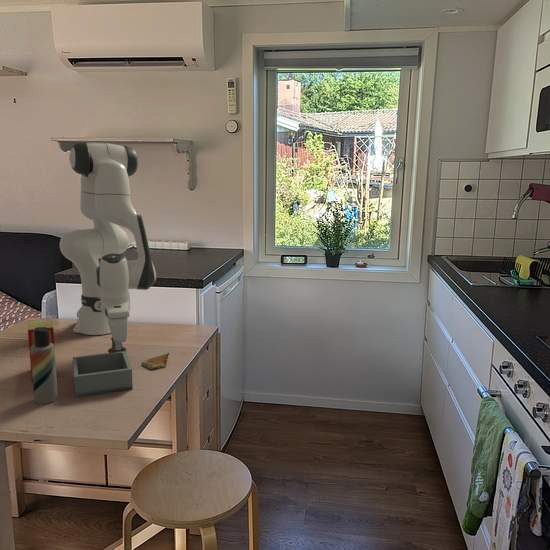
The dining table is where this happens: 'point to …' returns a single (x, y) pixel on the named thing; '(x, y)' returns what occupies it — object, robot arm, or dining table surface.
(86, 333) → the robot arm
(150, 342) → the dining table surface
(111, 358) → the box
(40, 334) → the lotion bottle
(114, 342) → the stone chess piece
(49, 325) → the baking soda box
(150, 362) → the shard
